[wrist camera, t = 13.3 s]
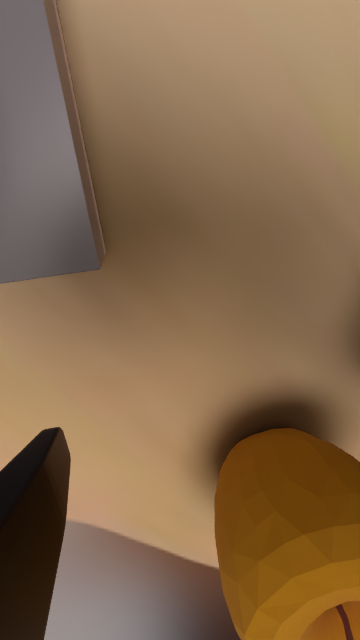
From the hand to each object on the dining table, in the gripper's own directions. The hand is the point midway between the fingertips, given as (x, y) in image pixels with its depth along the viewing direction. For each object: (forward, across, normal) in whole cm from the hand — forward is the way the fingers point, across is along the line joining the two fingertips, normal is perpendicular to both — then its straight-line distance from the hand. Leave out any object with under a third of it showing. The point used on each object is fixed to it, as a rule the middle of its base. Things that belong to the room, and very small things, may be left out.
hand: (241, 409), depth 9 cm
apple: (+13, -5, +15) cm, 21 cm away
